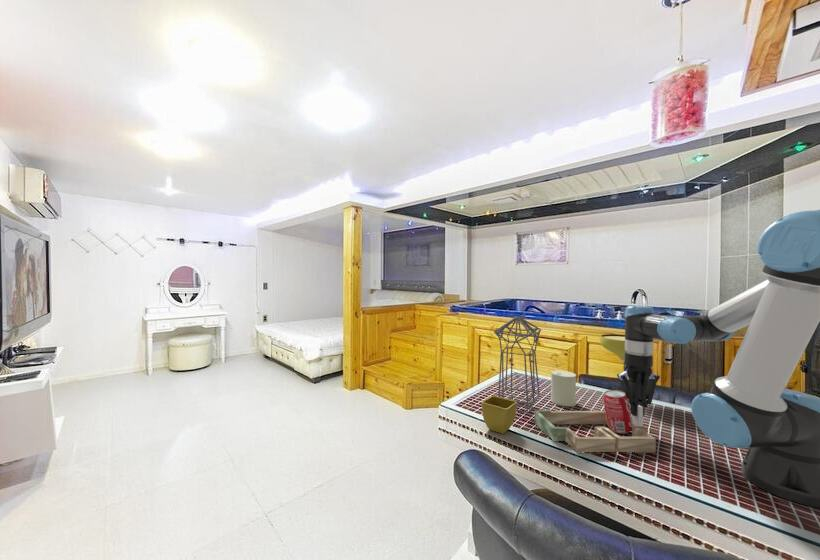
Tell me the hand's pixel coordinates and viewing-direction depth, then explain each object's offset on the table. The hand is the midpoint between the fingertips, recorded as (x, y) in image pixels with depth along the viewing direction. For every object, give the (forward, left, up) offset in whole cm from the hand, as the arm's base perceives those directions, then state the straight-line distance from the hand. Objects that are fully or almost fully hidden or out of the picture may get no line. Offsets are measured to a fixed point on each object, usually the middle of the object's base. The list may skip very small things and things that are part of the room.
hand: (637, 425), depth 103 cm
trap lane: (-3, +17, -2) cm, 17 cm away
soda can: (0, +6, -2) cm, 6 cm away
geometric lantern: (+20, +32, -2) cm, 38 cm away
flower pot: (+2, +45, -2) cm, 45 cm away
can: (+25, +11, -2) cm, 27 cm away
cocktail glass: (+31, -19, -2) cm, 36 cm away
